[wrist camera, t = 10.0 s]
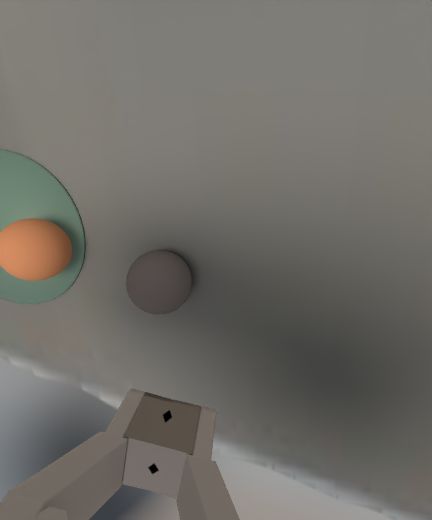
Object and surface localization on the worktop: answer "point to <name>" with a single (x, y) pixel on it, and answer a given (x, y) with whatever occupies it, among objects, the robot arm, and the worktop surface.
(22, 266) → the object ball
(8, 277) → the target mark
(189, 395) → the worktop surface
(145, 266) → the dark gray ball
